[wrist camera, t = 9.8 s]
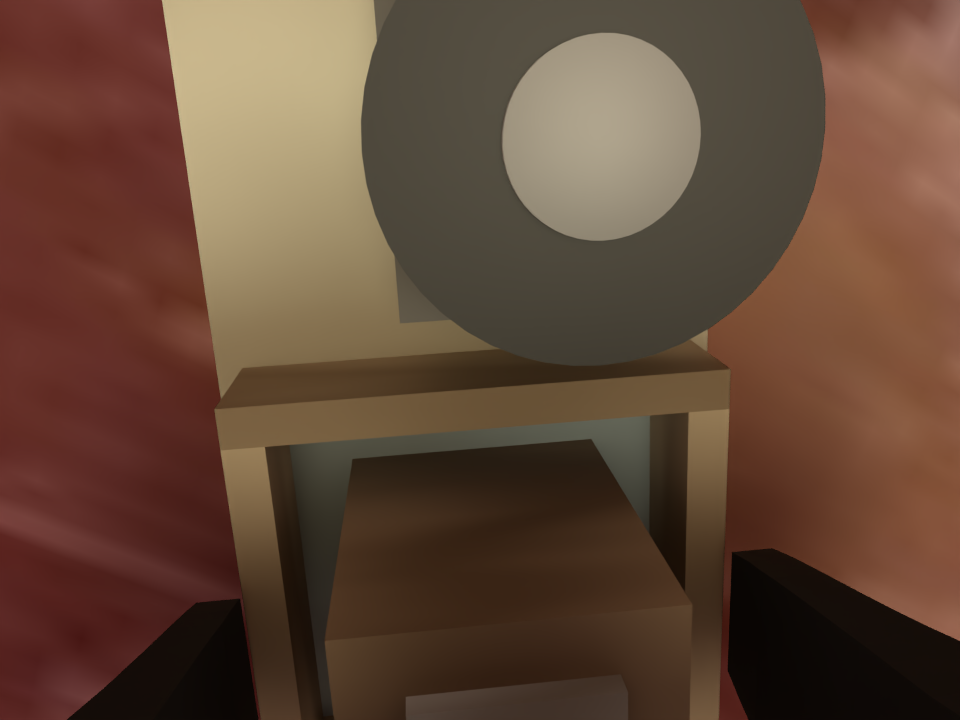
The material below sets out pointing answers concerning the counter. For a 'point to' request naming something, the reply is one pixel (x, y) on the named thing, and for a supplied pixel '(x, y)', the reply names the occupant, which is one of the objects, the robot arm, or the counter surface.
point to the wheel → (591, 163)
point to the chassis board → (383, 345)
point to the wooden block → (502, 592)
